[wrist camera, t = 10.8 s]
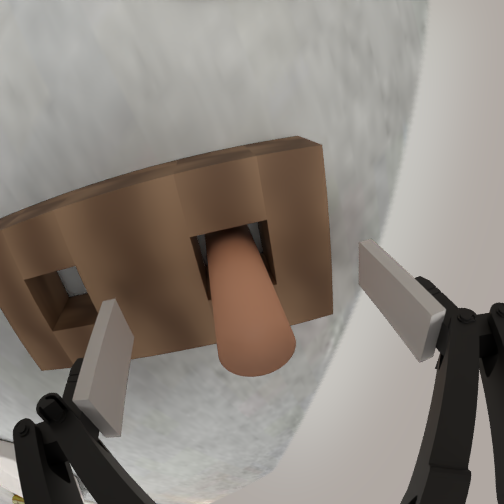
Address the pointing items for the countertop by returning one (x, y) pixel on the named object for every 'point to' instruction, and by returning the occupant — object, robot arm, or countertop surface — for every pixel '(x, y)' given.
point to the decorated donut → (17, 500)
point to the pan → (16, 471)
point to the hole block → (165, 248)
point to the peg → (245, 306)
